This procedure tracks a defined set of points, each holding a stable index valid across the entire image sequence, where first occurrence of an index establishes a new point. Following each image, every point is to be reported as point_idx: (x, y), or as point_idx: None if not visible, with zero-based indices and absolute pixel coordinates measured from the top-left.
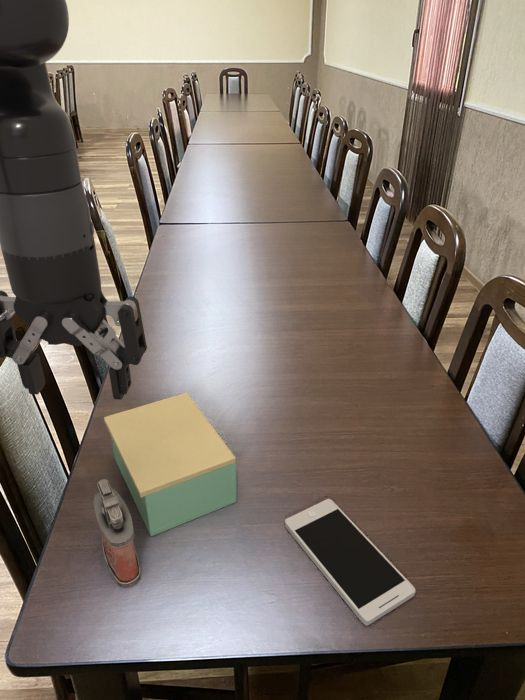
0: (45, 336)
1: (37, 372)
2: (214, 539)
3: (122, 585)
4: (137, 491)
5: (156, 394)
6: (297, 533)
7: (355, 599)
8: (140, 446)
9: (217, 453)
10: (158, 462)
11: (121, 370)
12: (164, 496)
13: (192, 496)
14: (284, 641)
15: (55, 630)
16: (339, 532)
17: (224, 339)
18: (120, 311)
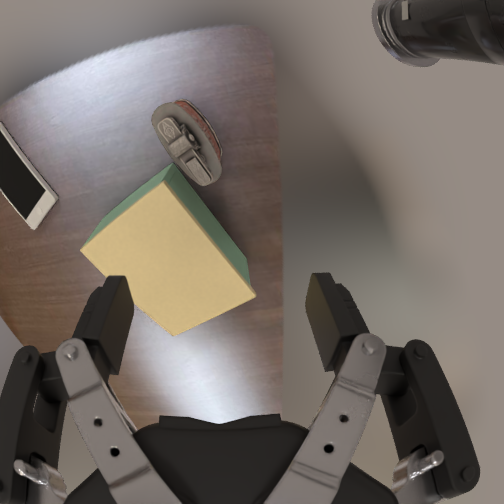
0: (287, 443)
1: (320, 324)
2: (110, 169)
3: (182, 99)
4: (187, 201)
5: (231, 336)
6: (43, 187)
7: (2, 137)
8: (192, 257)
9: (99, 254)
10: (159, 234)
11: (78, 337)
12: (145, 191)
13: (125, 204)
14: (41, 88)
15: (237, 51)
16: (19, 196)
17: (192, 390)
18: (3, 497)
